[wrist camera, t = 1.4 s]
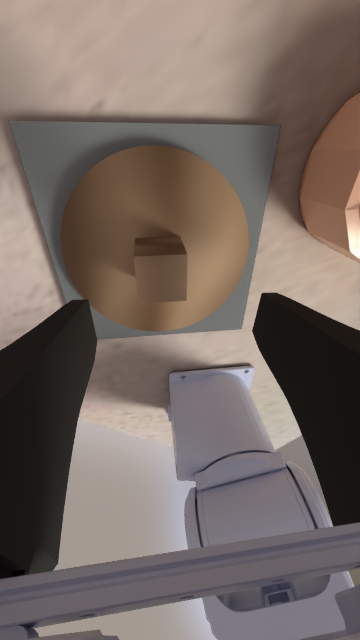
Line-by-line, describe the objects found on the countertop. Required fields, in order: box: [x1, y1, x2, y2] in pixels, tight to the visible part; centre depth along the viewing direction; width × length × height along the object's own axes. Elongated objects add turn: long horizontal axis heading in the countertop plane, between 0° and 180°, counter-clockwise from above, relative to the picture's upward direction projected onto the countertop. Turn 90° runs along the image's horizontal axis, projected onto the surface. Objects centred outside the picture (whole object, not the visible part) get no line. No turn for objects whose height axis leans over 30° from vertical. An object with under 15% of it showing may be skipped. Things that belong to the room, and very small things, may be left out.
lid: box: [60, 145, 249, 331], centre depth 16 cm, size 13×13×4 cm
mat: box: [9, 121, 281, 339], centre depth 18 cm, size 15×15×1 cm
